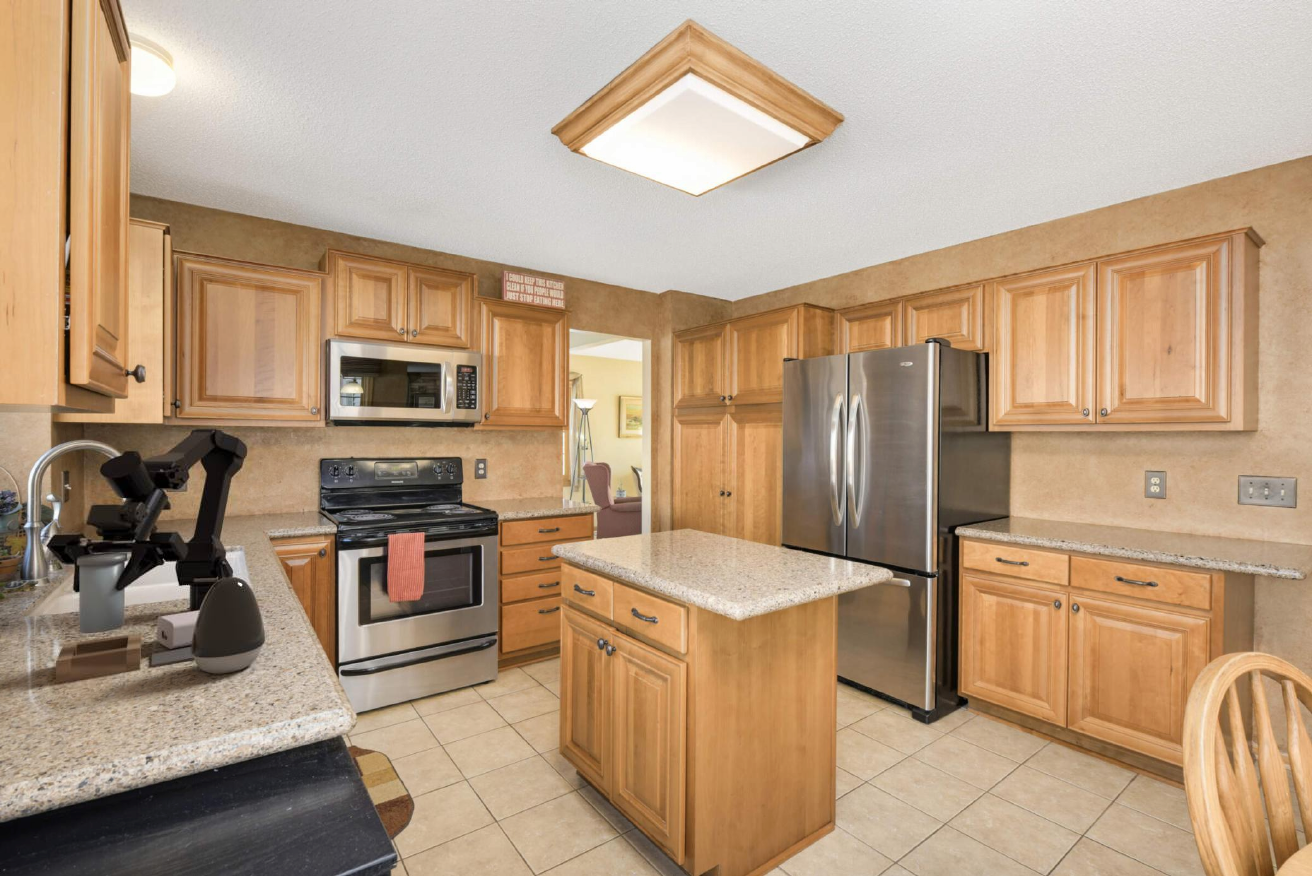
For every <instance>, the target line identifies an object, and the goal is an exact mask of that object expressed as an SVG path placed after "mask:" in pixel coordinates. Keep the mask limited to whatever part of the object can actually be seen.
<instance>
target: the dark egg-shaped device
mask: <svg viewBox="0 0 1312 876" xmlns="http://www.w3.org/2000/svg"><path fill="white" fill-rule="evenodd" d="M265 643H266V633H265V626H264V621H263V617H262V612H261V609H260V606H259V603H258V600H257V598H256V595H255V593H254V591H253V590H252V588H251V587H250V585H249V584H248V582H246V581H245V580H244V579H242V578H239V577H236V576H233V577H227V578H226V577H222V578H221V579H220V580H219V581H217V582H216V583H215V584H214V585H213V586H212V587H211V588H210V590H209V591H208V593H207V595H206V596H205V598H204V600H203V603H202V605H201V608H200V611H199V614H198V617H197V620H196V623H195V627H194V631H193V636H192V641H191V645H190V647H191V654H192V655H193V657H194V660H193V661H194V663H195V664H196V666H197V667H199V668H200V670H202V671H204V672H205V673H209V674H214V675H222V674H230V673H234V672H238V671H241V670H243V669H245V668H247V667H249V666H250V665H251V664H253V663H254V662H255V661H256V660H257V659H258V657H259V656H260V653H261V651H262V649H263V646H264V644H265Z"/></svg>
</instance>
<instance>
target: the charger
mask: <svg viewBox="0 0 1312 876" xmlns="http://www.w3.org/2000/svg"><path fill="white" fill-rule="evenodd" d="M199 611H200V610H199ZM199 611H192V612H187V611H186V612H180V613H174V614H168V615H163V616H158V617H157V622H156V625H157V626H156V640H157V642H158V643H159V644H161V645H163V646H164V647H167V648H168V649H169V650H174V649H179V648H184V647H189V646H191V641H192V636H193V631H194V627H195V623H196V620H197V617H198V614H199Z"/></svg>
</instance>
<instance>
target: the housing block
mask: <svg viewBox="0 0 1312 876" xmlns="http://www.w3.org/2000/svg"><path fill="white" fill-rule="evenodd" d="M141 660H142V633H141V632H140V633H138V632H137V633H133V634H132V633H130V634H126V635H125V634H124V635H119V636H118V635H117V636H113V637H112V636H111V637H106V638H105V637H104V638H97V639H91V640H84V641H76V642H70V643H63V645H62V648H61V649H60V652H59V654H58V656H57V659H56V661H55V664H56V665H55V684H56V685H57V684H63V683H68V682H74V681H79V680H80V681H81V680H86V679H91V678H92V679H93V678H97V677H103V676H108V675H115V674H121V673H126V672H131V671H137V670H138V671H139V670H141Z"/></svg>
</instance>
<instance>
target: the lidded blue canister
mask: <svg viewBox="0 0 1312 876" xmlns="http://www.w3.org/2000/svg"><path fill="white" fill-rule="evenodd" d="M127 560H128V553H120V552H115V553H98V554H92V555H86V556H81V557H78V558H77V565H79V566H80V583H79V592H78V593H79V594H78V595H79V596H78V597H79V598H78V599H79V603H78V604H79V605H78V607H79V614H78V617H79V618H78V619H79V621H78V622H79V623H78V625H79V628H78V631H79V633H81V634H97V633H103V632H110V631H113V630H117V629H120V628H123V627H124V626H125V594H126V592H125V589H126V587H125V588H124V589H123V590H121V591H117V589H116V585H117V582H118V580H119V578H120V576H121V574H122V572H123V571H124V569H125V567H126V565H125V563H126V561H127Z"/></svg>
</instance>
